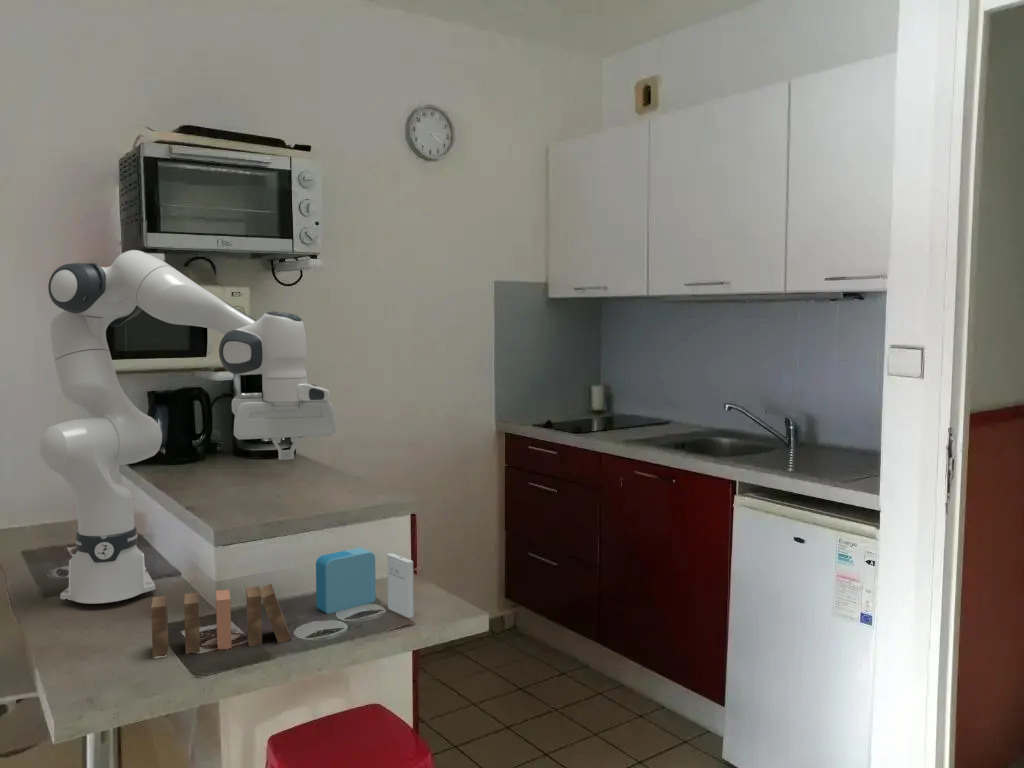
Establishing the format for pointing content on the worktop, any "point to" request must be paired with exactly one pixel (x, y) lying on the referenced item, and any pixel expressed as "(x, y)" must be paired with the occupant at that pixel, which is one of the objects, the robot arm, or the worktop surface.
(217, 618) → the domino
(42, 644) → the worktop surface
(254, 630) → the domino
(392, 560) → the hard drive
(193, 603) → the domino
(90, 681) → the worktop surface
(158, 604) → the domino
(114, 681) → the worktop surface
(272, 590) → the domino
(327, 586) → the blue rounded box
